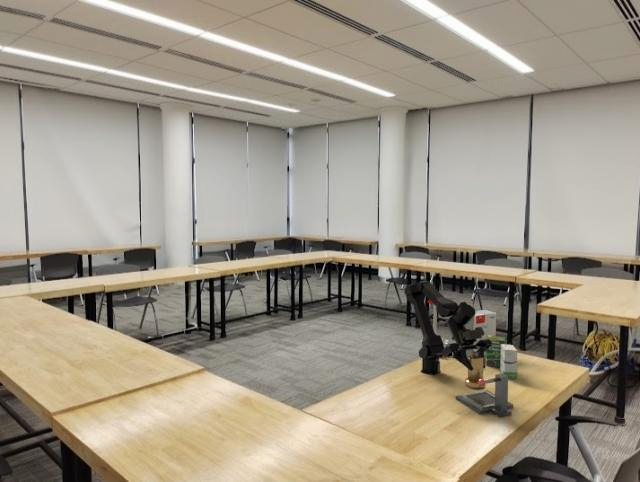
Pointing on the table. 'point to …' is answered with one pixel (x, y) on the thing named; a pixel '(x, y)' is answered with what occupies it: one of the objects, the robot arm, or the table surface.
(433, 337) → the robot arm
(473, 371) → the amber cylindrical piece
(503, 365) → the ink box
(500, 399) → the press bed
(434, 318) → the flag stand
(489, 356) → the coffee box
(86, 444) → the table surface
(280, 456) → the table surface
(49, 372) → the table surface
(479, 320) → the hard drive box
